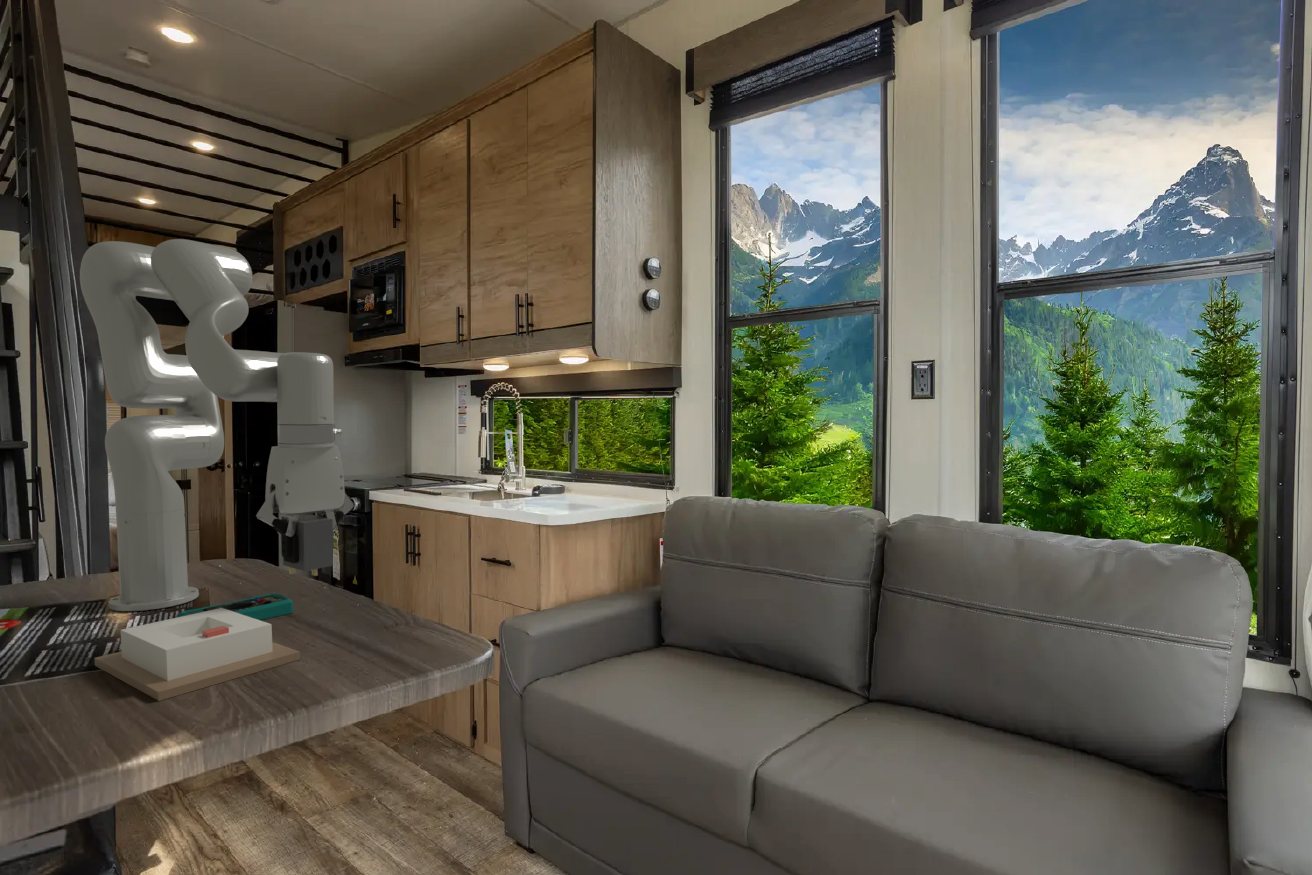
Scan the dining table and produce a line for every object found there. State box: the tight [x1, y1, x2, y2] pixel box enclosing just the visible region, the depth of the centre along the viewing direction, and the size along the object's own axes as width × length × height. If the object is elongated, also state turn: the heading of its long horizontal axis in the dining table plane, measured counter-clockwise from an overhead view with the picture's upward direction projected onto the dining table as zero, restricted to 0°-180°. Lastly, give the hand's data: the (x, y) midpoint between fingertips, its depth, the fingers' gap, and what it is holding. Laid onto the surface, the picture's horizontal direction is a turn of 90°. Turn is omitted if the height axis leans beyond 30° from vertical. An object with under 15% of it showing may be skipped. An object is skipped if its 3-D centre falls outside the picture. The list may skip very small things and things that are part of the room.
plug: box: [282, 514, 334, 577], centre depth 109 cm, size 6×4×8 cm
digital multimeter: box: [175, 593, 294, 621], centre depth 112 cm, size 7×15×3 cm, turn 143°
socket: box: [94, 608, 301, 702], centre depth 93 cm, size 20×16×5 cm
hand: (308, 557), depth 109 cm, fingers closed on plug, 4 cm apart
